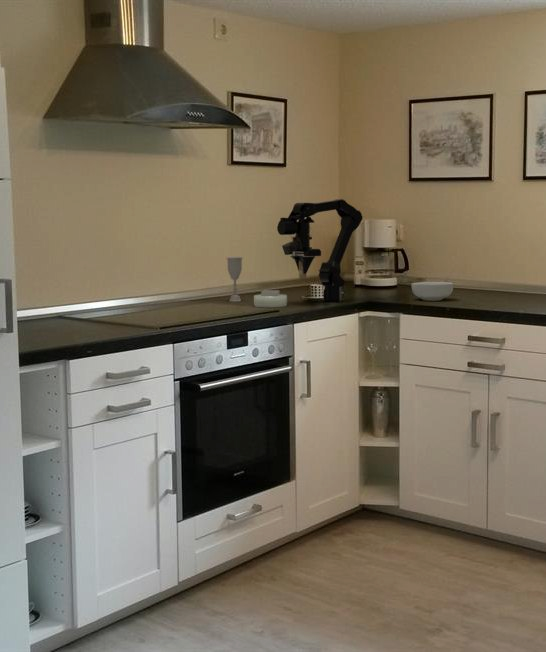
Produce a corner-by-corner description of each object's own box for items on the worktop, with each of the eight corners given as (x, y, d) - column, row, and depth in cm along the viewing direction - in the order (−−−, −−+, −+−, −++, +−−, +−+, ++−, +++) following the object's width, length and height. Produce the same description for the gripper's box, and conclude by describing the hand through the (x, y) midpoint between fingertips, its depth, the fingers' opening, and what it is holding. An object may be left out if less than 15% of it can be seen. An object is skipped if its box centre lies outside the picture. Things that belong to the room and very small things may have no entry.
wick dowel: (307, 278, 384) (307, 259, 384) (305, 278, 382) (305, 259, 381) (300, 277, 385) (300, 259, 385) (297, 278, 383) (297, 259, 382)
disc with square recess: (291, 304, 382) (291, 289, 381) (280, 307, 370) (280, 292, 369) (260, 303, 386) (260, 289, 385) (249, 306, 374) (249, 292, 373)
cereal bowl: (457, 298, 398) (457, 281, 397) (447, 302, 383) (447, 284, 382) (417, 297, 405) (418, 280, 405) (406, 301, 390) (406, 283, 390)
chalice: (241, 301, 395) (240, 257, 393) (225, 301, 396) (224, 257, 394) (245, 300, 402) (244, 257, 400) (229, 299, 403) (228, 257, 401)
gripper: (273, 234, 385) (273, 273, 387) (297, 235, 369) (297, 275, 371) (296, 233, 391) (296, 272, 393) (321, 234, 375) (322, 274, 377)
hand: (302, 273), depth 383 cm, fingers closed on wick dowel, 3 cm apart
